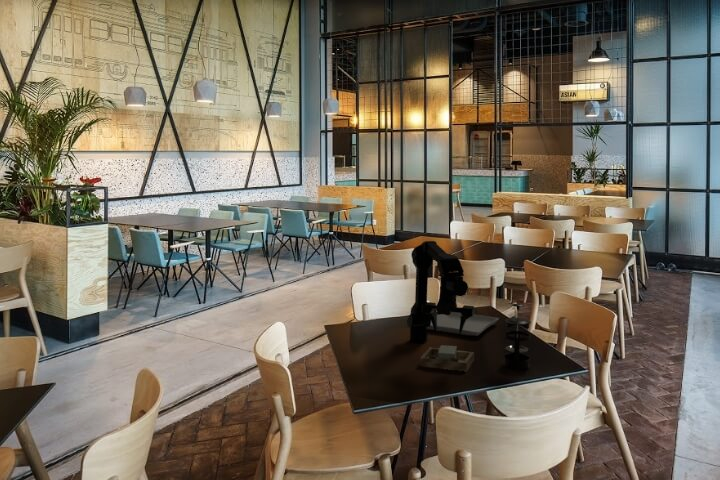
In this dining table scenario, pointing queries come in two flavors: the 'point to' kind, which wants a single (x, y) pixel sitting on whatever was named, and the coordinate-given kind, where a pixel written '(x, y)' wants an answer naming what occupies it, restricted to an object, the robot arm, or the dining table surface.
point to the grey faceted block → (447, 352)
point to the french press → (517, 344)
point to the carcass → (458, 363)
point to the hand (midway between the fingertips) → (447, 332)
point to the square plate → (471, 325)
